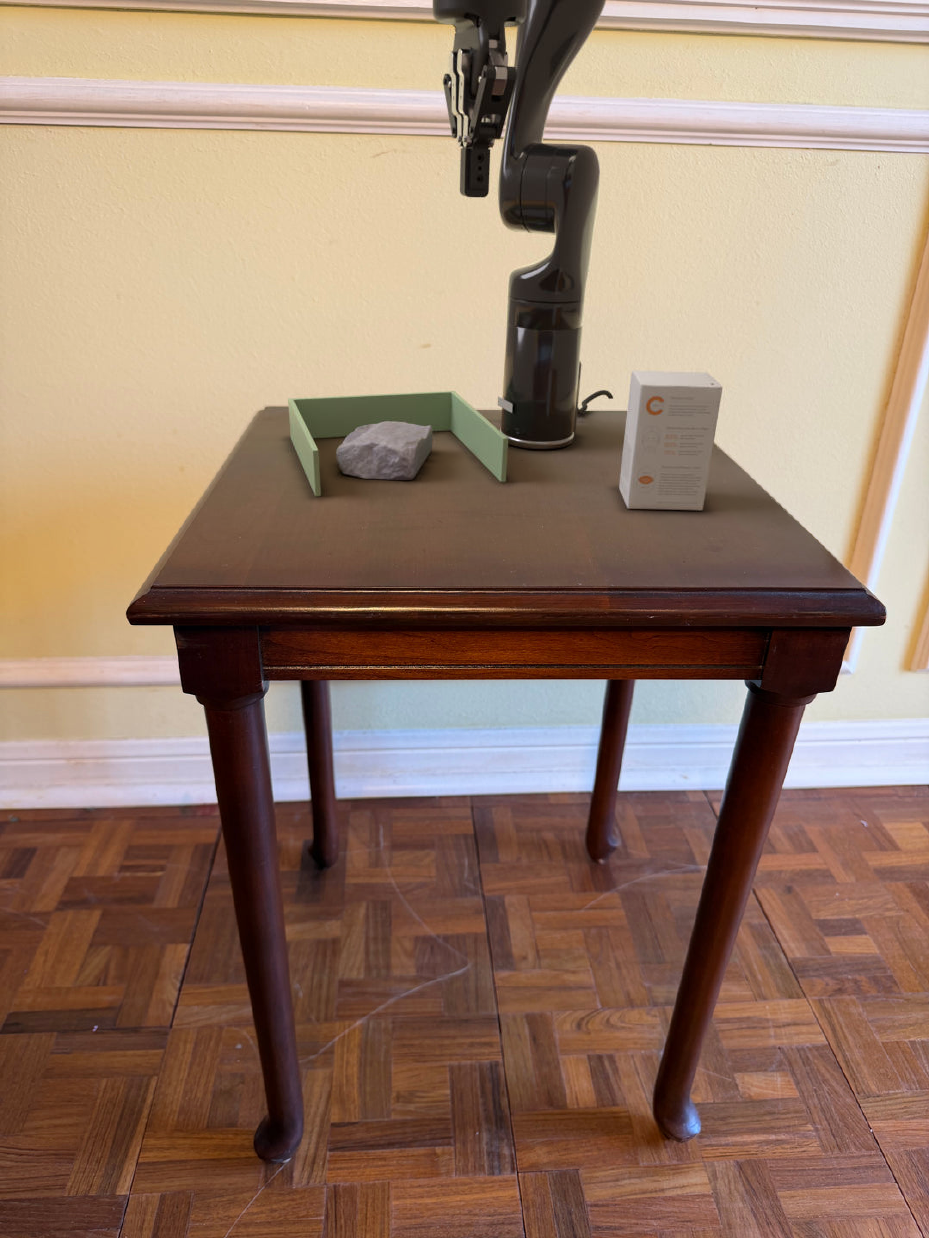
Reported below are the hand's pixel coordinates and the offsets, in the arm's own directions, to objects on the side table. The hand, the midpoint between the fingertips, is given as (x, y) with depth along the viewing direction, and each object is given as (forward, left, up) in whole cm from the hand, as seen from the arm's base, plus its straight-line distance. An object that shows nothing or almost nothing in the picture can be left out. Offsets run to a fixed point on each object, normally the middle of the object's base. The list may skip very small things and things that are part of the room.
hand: (473, 196), depth 77 cm
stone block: (-5, -16, -29) cm, 34 cm away
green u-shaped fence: (-7, -16, -29) cm, 34 cm away
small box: (-16, +14, -29) cm, 36 cm away
